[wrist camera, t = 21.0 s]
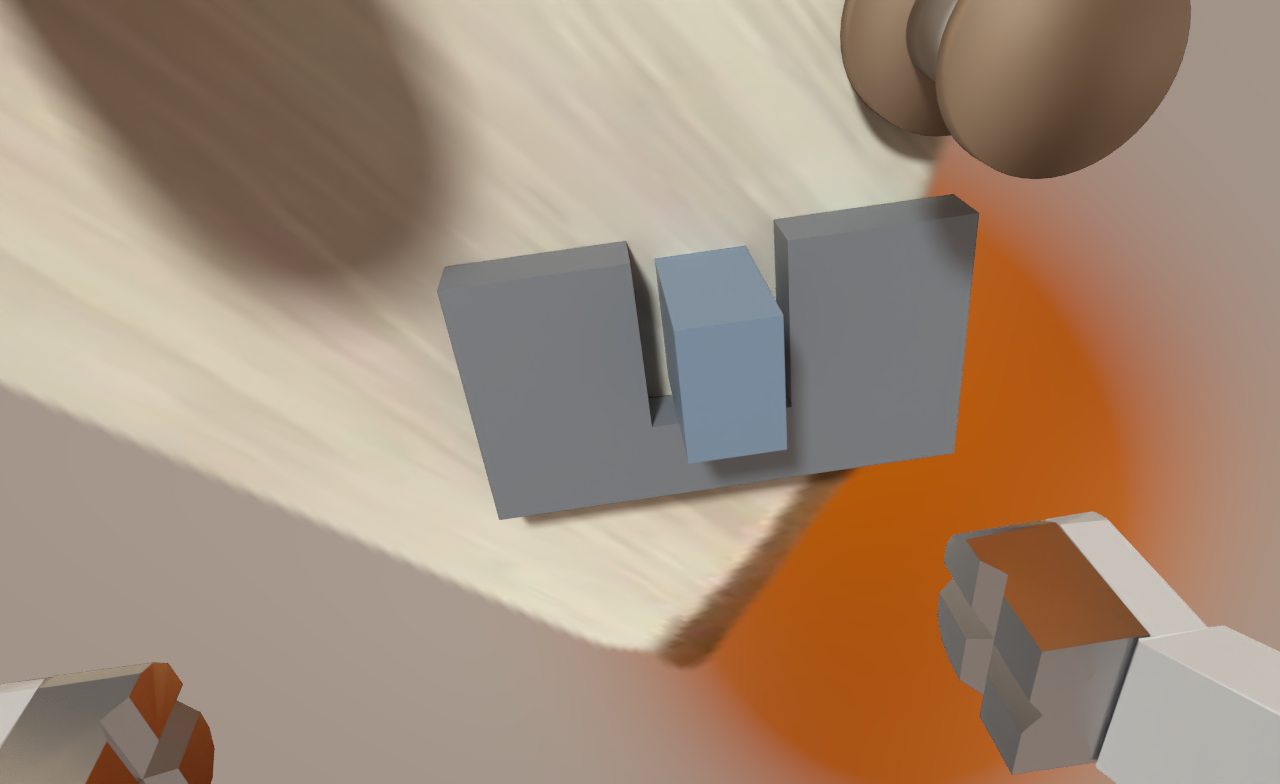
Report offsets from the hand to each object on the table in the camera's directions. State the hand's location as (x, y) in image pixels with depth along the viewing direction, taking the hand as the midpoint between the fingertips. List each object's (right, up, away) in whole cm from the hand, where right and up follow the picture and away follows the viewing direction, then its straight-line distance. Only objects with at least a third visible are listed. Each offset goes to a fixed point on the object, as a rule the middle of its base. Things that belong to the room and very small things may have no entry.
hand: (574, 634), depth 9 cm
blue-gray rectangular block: (+4, +6, +28) cm, 29 cm away
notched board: (+4, +4, +29) cm, 30 cm away
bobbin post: (+12, +17, +23) cm, 31 cm away
